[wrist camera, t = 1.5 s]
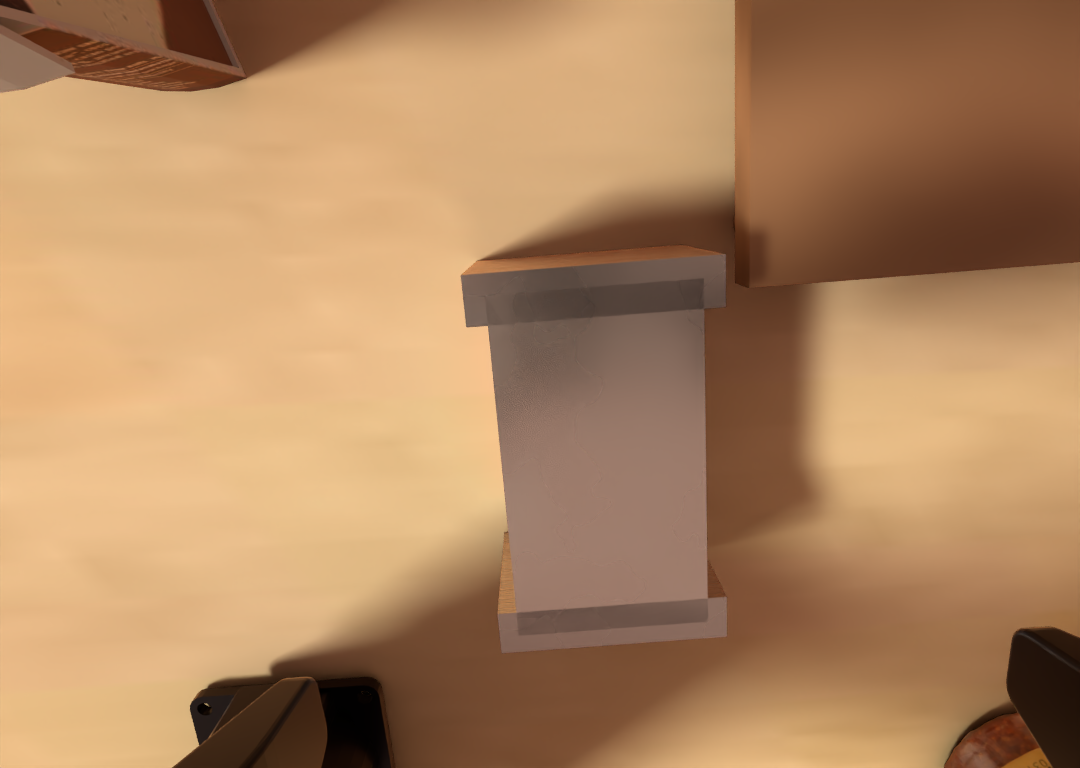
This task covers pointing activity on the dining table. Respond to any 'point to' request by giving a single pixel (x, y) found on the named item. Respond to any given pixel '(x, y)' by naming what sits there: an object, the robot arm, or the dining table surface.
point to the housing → (602, 443)
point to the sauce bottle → (999, 746)
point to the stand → (904, 137)
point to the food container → (116, 44)
